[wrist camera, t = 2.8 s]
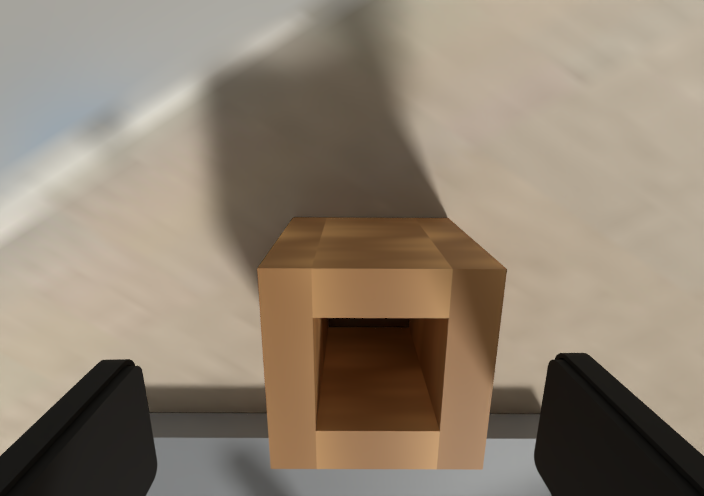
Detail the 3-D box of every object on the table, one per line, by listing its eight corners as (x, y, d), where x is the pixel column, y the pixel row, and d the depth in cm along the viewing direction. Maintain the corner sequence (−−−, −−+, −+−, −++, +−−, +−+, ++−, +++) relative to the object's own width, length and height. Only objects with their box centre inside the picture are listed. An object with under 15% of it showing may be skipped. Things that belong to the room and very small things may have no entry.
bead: (448, 218, 15) (506, 269, 9) (438, 354, 17) (482, 469, 11) (293, 217, 15) (257, 267, 9) (298, 354, 17) (270, 468, 11)
